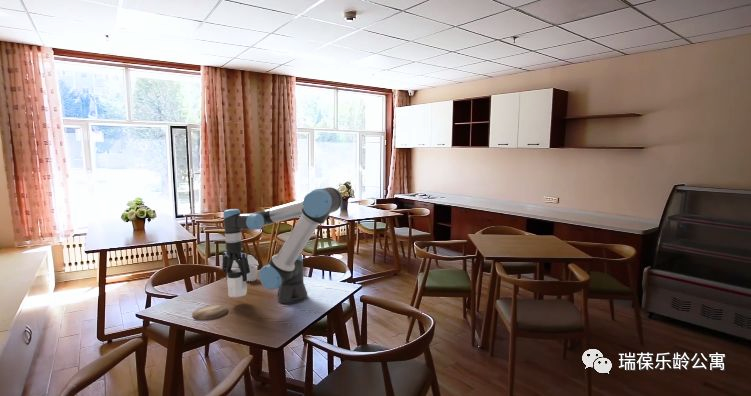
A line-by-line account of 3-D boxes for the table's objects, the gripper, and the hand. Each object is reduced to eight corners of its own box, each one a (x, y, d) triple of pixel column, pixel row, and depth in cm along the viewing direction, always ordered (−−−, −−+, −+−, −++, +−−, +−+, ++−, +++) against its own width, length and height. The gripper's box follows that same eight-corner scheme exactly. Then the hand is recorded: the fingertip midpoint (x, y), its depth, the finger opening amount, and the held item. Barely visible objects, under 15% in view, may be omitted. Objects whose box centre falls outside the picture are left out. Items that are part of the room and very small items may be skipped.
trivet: (234, 309, 183) (234, 306, 183) (210, 322, 169) (210, 319, 169) (210, 305, 188) (210, 303, 188) (185, 317, 175) (184, 314, 174)
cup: (236, 282, 224) (236, 268, 224) (243, 278, 232) (242, 265, 231) (254, 282, 223) (253, 269, 222) (260, 278, 230) (259, 265, 230)
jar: (224, 296, 187) (222, 272, 186) (236, 291, 195) (234, 267, 194) (239, 298, 184) (237, 273, 183) (250, 292, 192) (249, 268, 191)
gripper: (256, 240, 187) (259, 286, 189) (222, 238, 195) (226, 283, 197) (245, 243, 180) (248, 291, 182) (211, 241, 188) (215, 287, 190)
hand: (237, 286), depth 189 cm, fingers closed on jar, 8 cm apart
